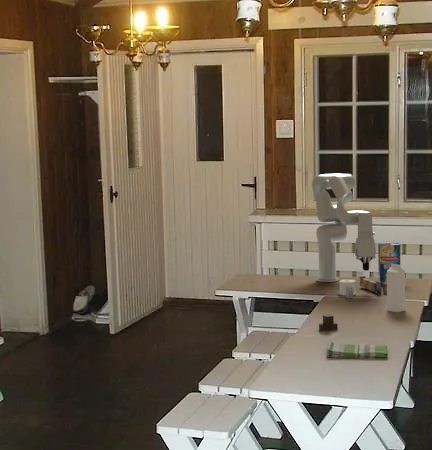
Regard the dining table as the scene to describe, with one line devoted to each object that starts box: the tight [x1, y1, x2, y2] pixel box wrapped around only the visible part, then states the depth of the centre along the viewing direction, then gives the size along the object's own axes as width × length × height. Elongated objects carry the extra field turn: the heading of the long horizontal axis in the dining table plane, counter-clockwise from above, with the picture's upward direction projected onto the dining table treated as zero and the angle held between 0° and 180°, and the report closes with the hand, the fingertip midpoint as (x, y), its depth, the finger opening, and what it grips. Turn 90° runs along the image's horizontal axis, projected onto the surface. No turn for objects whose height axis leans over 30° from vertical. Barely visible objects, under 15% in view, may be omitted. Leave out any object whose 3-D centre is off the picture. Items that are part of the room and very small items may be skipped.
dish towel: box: [325, 341, 389, 360], centre depth 325 cm, size 17×23×4 cm
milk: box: [386, 264, 406, 313], centre depth 393 cm, size 6×6×22 cm
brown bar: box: [358, 275, 376, 293], centre depth 443 cm, size 17×3×5 cm, turn 17°
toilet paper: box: [338, 279, 357, 296], centre depth 437 cm, size 8×11×7 cm
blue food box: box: [377, 242, 401, 286], centre depth 459 cm, size 7×11×22 cm, turn 87°
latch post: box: [346, 286, 354, 300], centre depth 425 cm, size 2×2×6 cm
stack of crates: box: [318, 314, 339, 332], centre depth 360 cm, size 15×15×7 cm
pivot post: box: [375, 280, 382, 295], centre depth 433 cm, size 2×2×6 cm
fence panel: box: [382, 283, 387, 295], centre depth 436 cm, size 3×10×6 cm, turn 107°
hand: (366, 270), depth 439 cm, fingers closed
